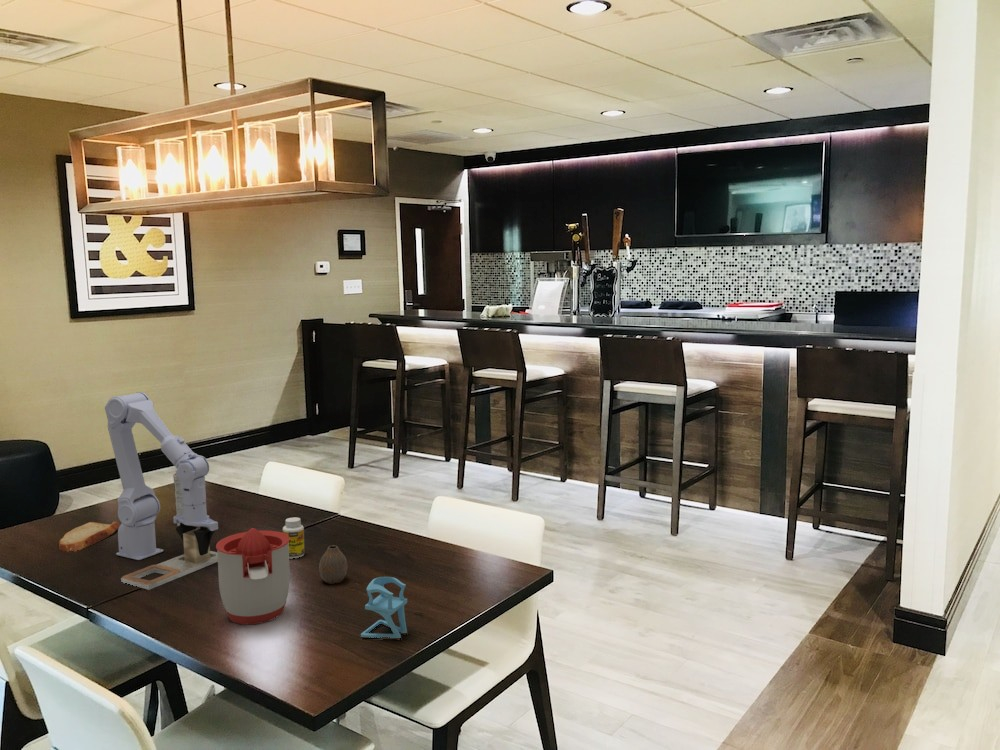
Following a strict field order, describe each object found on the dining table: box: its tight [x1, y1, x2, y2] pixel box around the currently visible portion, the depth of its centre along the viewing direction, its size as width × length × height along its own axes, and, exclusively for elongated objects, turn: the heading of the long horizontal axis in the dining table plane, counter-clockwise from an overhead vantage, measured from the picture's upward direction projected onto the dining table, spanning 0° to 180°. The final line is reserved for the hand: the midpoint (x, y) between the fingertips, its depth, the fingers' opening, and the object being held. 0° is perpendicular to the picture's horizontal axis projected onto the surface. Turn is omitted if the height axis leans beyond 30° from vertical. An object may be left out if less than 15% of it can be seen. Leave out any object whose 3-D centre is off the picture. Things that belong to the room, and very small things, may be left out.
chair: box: [360, 576, 408, 639], centre depth 163 cm, size 8×8×12 cm
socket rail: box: [120, 550, 218, 591], centre depth 200 cm, size 10×24×2 cm, turn 153°
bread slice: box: [58, 521, 121, 553], centre depth 225 cm, size 18×18×4 cm
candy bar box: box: [172, 472, 183, 527], centre depth 240 cm, size 11×5×16 cm, turn 179°
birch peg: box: [182, 528, 211, 563], centre depth 206 cm, size 4×4×8 cm
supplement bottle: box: [282, 516, 305, 560], centre depth 210 cm, size 6×6×10 cm
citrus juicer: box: [215, 527, 291, 626], centre depth 172 cm, size 16×17×20 cm
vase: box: [318, 544, 348, 585], centre depth 193 cm, size 7×7×9 cm
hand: (197, 552), depth 206 cm, fingers closed on birch peg, 4 cm apart
